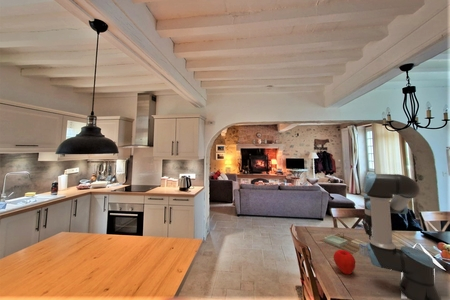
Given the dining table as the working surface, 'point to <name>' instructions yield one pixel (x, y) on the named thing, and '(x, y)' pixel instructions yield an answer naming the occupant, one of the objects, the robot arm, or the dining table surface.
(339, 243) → the tray
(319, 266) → the dining table surface
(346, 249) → the bench board
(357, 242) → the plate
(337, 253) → the apple
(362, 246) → the medicine box
